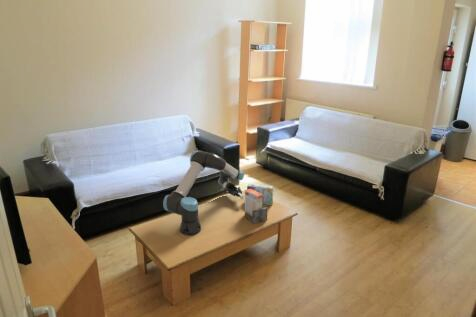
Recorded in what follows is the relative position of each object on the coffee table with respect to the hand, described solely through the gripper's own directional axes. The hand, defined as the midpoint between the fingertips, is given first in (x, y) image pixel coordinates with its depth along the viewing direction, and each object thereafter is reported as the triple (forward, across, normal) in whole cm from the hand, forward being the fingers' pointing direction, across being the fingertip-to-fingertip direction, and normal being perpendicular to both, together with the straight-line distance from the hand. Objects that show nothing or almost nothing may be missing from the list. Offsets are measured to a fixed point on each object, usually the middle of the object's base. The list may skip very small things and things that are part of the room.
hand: (242, 197), depth 278 cm
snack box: (0, -16, -8) cm, 18 cm away
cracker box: (+19, +1, -8) cm, 21 cm away
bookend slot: (+21, 0, -8) cm, 22 cm away
